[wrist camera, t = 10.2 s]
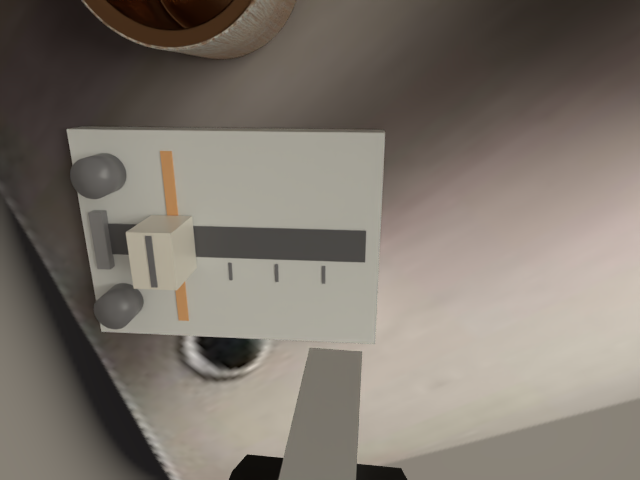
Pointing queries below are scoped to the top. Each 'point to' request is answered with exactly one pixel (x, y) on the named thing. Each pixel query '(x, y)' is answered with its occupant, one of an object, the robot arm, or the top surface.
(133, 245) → the fader
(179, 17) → the planter
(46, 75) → the top surface
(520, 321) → the top surface
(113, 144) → the console
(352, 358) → the robot arm
